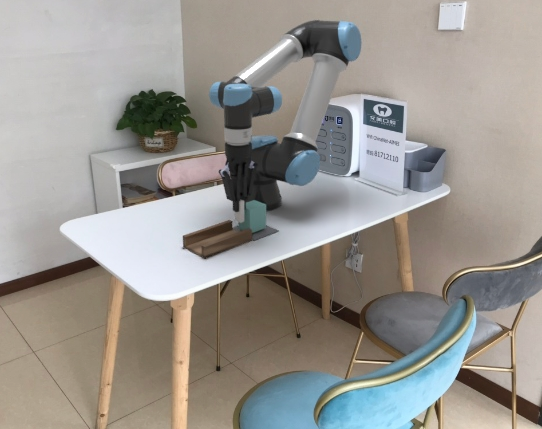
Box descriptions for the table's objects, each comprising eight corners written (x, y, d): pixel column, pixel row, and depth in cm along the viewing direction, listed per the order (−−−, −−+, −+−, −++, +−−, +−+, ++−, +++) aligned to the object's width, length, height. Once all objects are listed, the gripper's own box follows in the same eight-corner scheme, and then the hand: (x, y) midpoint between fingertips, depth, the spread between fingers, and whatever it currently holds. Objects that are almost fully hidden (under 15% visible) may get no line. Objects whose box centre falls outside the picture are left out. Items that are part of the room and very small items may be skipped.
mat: (229, 229, 163) (229, 228, 163) (254, 220, 169) (254, 219, 169) (254, 240, 155) (254, 239, 155) (278, 231, 162) (278, 230, 162)
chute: (183, 246, 151) (182, 235, 150) (229, 230, 162) (229, 219, 161) (205, 258, 144) (204, 247, 143) (251, 240, 155) (251, 229, 154)
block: (238, 228, 161) (238, 205, 158) (254, 222, 165) (254, 199, 162) (250, 233, 158) (250, 209, 155) (265, 227, 162) (266, 204, 159)
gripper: (228, 148, 141) (230, 230, 150) (264, 140, 149) (264, 218, 158) (211, 143, 146) (213, 223, 155) (247, 135, 154) (247, 211, 163)
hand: (239, 220), depth 157 cm, fingers closed
